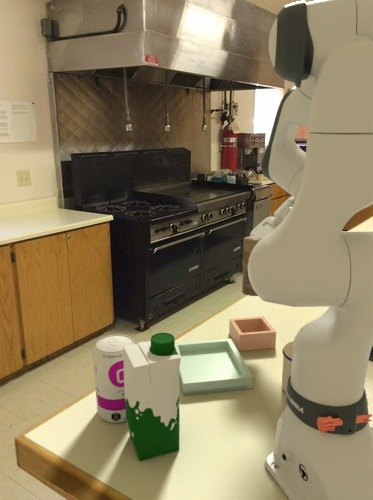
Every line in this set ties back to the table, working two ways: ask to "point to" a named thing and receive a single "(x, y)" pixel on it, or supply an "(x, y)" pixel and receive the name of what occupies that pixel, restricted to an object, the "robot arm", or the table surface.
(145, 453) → the milk carton
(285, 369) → the teacup with lid
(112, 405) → the supplement can
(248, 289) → the walnut canister
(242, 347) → the terracotta holder
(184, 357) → the sage tray
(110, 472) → the table surface
